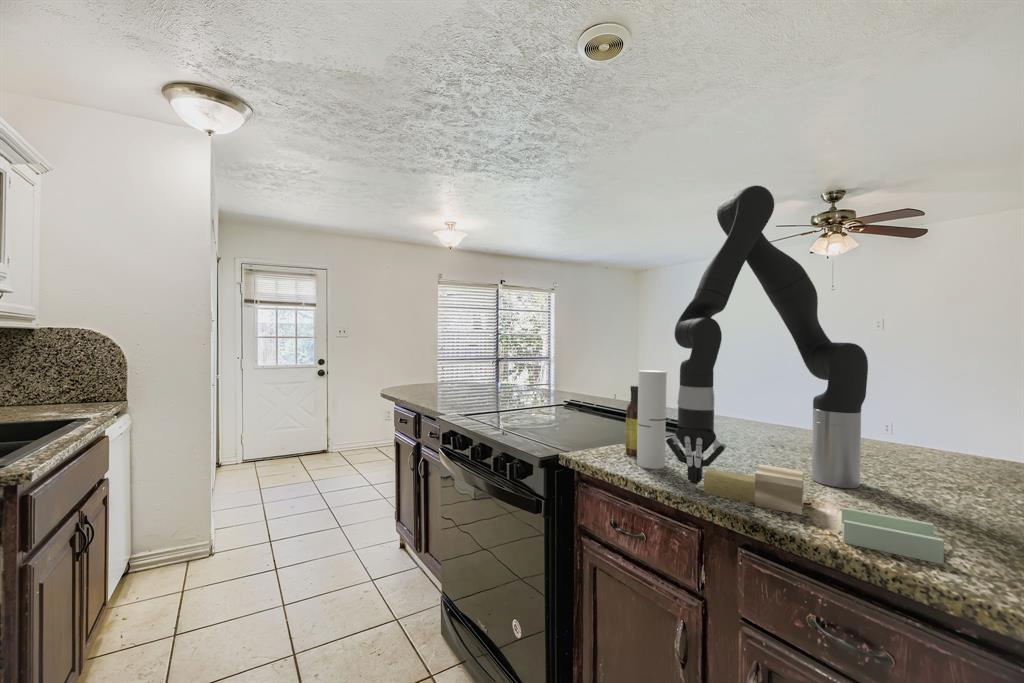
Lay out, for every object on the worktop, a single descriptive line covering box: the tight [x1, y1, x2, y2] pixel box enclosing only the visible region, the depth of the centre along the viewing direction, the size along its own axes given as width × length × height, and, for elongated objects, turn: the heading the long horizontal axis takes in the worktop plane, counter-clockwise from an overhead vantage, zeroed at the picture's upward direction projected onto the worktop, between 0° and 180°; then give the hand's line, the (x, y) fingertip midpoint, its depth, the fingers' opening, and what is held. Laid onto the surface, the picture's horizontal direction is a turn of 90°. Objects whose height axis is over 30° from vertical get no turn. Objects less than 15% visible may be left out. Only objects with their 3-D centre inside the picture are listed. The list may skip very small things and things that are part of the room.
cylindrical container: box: [636, 369, 668, 470], centre depth 118 cm, size 7×7×25 cm
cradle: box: [840, 506, 945, 565], centre depth 73 cm, size 8×12×4 cm, turn 55°
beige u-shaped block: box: [754, 463, 804, 516], centre depth 90 cm, size 8×8×7 cm
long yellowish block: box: [703, 468, 805, 510], centre depth 93 cm, size 4×18×4 cm, turn 53°
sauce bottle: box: [624, 385, 638, 457], centre depth 129 cm, size 7×6×20 cm
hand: (694, 482), depth 100 cm, fingers closed
